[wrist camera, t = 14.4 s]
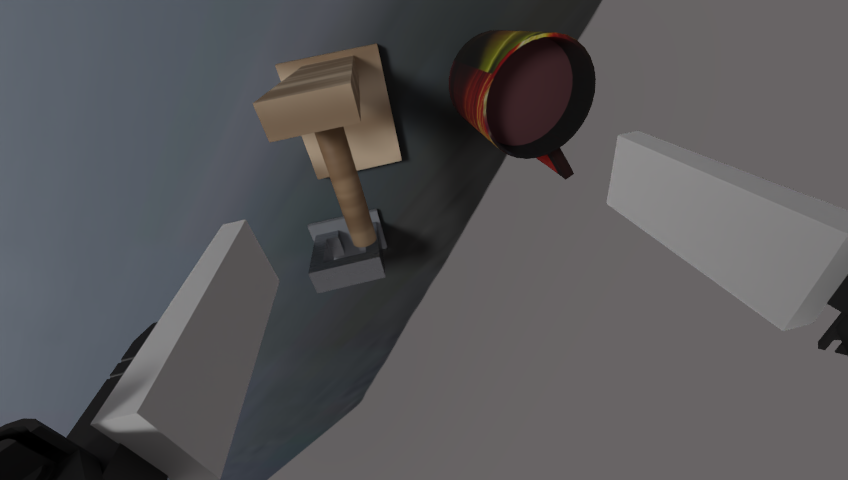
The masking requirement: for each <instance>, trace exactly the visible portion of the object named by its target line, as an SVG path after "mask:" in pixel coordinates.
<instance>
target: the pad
mask: <svg viewBox="0 0 848 480" xmlns="http://www.w3.org/2000/svg"><path fill="white" fill-rule="evenodd" d="M369 214H370V217H371V220H372V222H376V223H377V227H378V230H379V234H380V237H381V241H382V249H385V248H387V244H386V240H385V237H384V233H383V230H382V226H381V223H380V219H379V216H378V212H377V209H373V210H369ZM308 229H309V231H310V234H311V236H312V238H313V240H314V242H315V237H316V235H320V234H324V233H329V232H333V231H337V230H339V233H340V236H341V238H342V241H343V244H344V246H345V255H343V256H338V257H334V260H335V259H340V258H344V257H348V256H352V255H357V254H361V253H365V252H366V250H364V251H360V250H359V247H356V246H354V244H353V241H352V238H351V236H350V233H349V230H348V227H347V224H346V221H345V219H344V216H342V217H338V218H334V219H329V220H325V221H321V222H316V223H312V224H308Z"/></svg>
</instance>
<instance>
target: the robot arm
mask: <svg viewBox="0 0 848 480" xmlns="http://www.w3.org/2000/svg"><path fill="white" fill-rule="evenodd" d="M607 204H608V205H609V206H610V207H612V208H613V209H615V210H616V211H617V212H619V213H620V214H622V215H623V216H624V217H626V218H627V219H628V220H630V221H631V222H633V223H634V224H636V225H637V226H638V227H640V228H641V229H643V230H644V231H645V232H646V233H648V234H649V235H651V236H652V237H653V238H655V239H656V240H658V241H659V242H660V243H662V244H663V245H665V246H666V247H667V248H669V249H670V250H671V251H673V252H674V253H676V254H677V255H678V256H680V257H681V258H683V259H684V260H685V261H687V262H688V263H689V264H691V265H692V266H694V267H695V268H696V269H698V270H699V271H701V272H702V273H703V274H705V275H706V276H707V277H709V278H710V279H712V280H713V281H715V282H716V283H717V284H718V285H720V286H721V287H723V288H724V289H726V290H727V291H728V292H730V293H731V294H733V295H734V296H735V297H737V298H738V299H739V300H741V301H742V302H744V303H745V304H746V305H748V306H749V307H750V308H752V309H753V310H754V311H756V312H757V313H759V314H760V315H761V316H763V317H764V318H766V319H767V320H768V321H770V322H771V323H773V324H774V325H775V326H777V327H778V328H779V329H781V330H782V331H786V330H789V329H793V328H797V327H800V326H805V325H808V324H812V323H814V321H815V320H816V319H817V317H818V316H819V315H820V313H821V312H822V311H823V309H824V308H825V307H826V305H827V304H829V305H831V306H832V307H834V308H835V309H837V310H839V311H840V312H841V314H840V315H839V316H838V317H837V319H836V320H835V321H834V323H833V324H832V325H831V326H830V327H829V329H828V330H827V331H826V333H825V334H824V335H823V336H822V338H821V339H820V340H819V341H818V349H823V350H825V349H826V348H827V347H828V346H829V345H830V343H831V342H832V341H833V340H841V341H842V343H841V344H840V345H839V346H838V348H837V349H836V350H835V352H836V353H840V354H844V355H848V211H847V210H845V209H842V208H839V207H837V206H835V205H832V204H829V203H827V202H824V201H822V200H819V199H816V198H814V197H811V196H808V195H806V194H803V193H800V192H798V191H795V190H792V189H790V188H787V187H785V186H782V185H780V184H777V183H774V182H772V181H769V180H766V179H764V178H761V177H758V176H756V175H753V174H751V173H748V172H745V171H743V170H740V169H737V168H735V167H732V166H730V165H727V164H725V163H722V162H719V161H717V160H714V159H711V158H709V157H706V156H704V155H701V154H698V153H696V152H693V151H690V150H688V149H685V148H682V147H680V146H677V145H674V144H672V143H669V142H667V141H664V140H661V139H659V138H656V137H654V136H651V135H648V134H646V133H643V132H641V131H635V132H630V133H626V134H621V135H618V138H617V144H616V150H615V156H614V162H613V168H612V174H611V180H610V186H609V191H608V198H607ZM278 284H279V279H278V277H277V275H276V274H275V272H274V270H273V268H272V266H271V265H270V263H269V261H268V259H267V257H266V256H265V254H264V252H263V250H262V248H261V246H260V245H259V243H258V241H257V239H256V237H255V236H254V234H253V232H252V230H251V228H250V226H249V225H248V223H247V221H246V220H241V221H237V222H233V223H228V224H224V225H222V226H221V228H220V229H219V231H218V232H217V234H216V236H215V237H214V239H213V240H212V242H211V243H210V245H209V246H208V248H207V249H206V251H205V252H204V254H203V255H202V257H201V258H200V260H199V261H198V263H197V264H196V266H195V267H194V269H193V270H192V272H191V273H190V275H189V276H188V278H187V279H186V281H185V282H184V284H183V285H182V287H181V288H180V290H179V291H178V293H177V294H176V296H175V297H174V299H173V300H172V302H171V303H170V305H169V306H168V308H167V309H166V311H165V312H164V314H163V315H162V317H161V318H160V320H159V321H158V322H156V323H153V324H152V325H151V326H150V327H148V328H147V329H146V330H145V331H144V332H143V333H142V334H141V335H140V336H139V337H138V338H137V339H136V340H134V342H133V343H132V344H131V346H130V347H129V349H128V350H127V352H126V353H125V354H124V356H123V357H122V359H121V360H122V362H121V363H118V364H117V366H116V367H115V369H114V370H113V372H112V373H111V374H110V377H111V378H110V379H107V380H106V382H105V383H104V384H103V386H102V387H101V389H100V390H99V392H98V393H97V394H96V396H95V397H94V399H93V400H92V402H91V403H90V404H89V406H88V407H87V409H86V410H85V412H84V413H83V414H82V416H81V417H80V419H79V420H78V422H77V423H76V424H75V426H74V427H73V429H72V430H71V432H70V433H69V434H68V436H67V437H66V438H65V437H64V436H62V435H61V434H59V433H57V432H56V431H54V430H52V429H51V428H49V427H48V426H46V425H44V424H43V423H41V422H39V421H38V420H36V419H21V420H17V421H14V422H11V423H8V424H5V425H4V426H2V427H0V480H167V478H169V479H171V480H219V479H220V478H221V475H222V472H223V468H224V465H225V462H226V458H227V455H228V452H229V448H230V445H231V442H232V438H233V435H234V432H235V428H236V425H237V421H238V418H239V415H240V411H241V408H242V405H243V401H244V398H245V395H246V391H247V388H248V385H249V381H250V378H251V375H252V371H253V368H254V365H255V361H256V358H257V355H258V351H259V348H260V344H261V341H262V338H263V334H264V331H265V328H266V324H267V321H268V318H269V314H270V311H271V308H272V304H273V301H274V298H275V294H276V291H277V288H278Z"/></svg>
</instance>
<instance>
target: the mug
mask: <svg viewBox="0 0 848 480" xmlns="http://www.w3.org/2000/svg"><path fill="white" fill-rule="evenodd" d="M595 80H596V79H595V71H594V66H593V63H592V60H591V57H590V55H589V54H588V52H587V51H586V49H585V47H583V46H582V45H581V44H580V43H579V42H578V41H577V40H576V39H574V38H572V37H570V36H568V35H565V34H560V33H554V32H528V31H503V30H495V31H487V32H484V33H481V34H479V35H477V36H475V37H473V38H472V39H471V40H470V41H468V42H467V43H466V44H465V45H464V46H463V47H462V49H461V50H460V51H459V53H458V54H457V56H456V58H455V60H454V62H453V65H452V67H451V71H450V76H449V92H450V97H451V100H452V103H453V105H454V107H455V108H456V110H457V112H458V113H459V114H460V115H461V116H462V117H463V118H464V119H465V120H467V121H468V122H469V123H470V124H471V125H472V126H473V127H475V128H476V129H477V130H478V131H479V132H480V133H481V134H483V135H484V136H485V137H486V138H487V139H488V140H489V141H491V142H492V143H493V144H494V145H495V146H496V147H498V148H499V149H500V150H501V151H503V152H505V153H506V154H508V155H510V156H514V157H516V158H525V159H529V158H537V159H538V160H540V161H541V162H542V163H544V164H546V165H547V166H548V167H550V168H551V169H552V170H554V171H555V172H556V173H558V174H559V175H560V176H562V177H563V178H564V179H567V178H568V177H570V176H571V175H573V174H574V173H573V171H572V169H571V167H570V165H569V163H568V161H567V160H566V158H565V156H564V154H563V152H562V151H561V149H560V147H561V146H562V145H564V144H565V143H566V142H567V141H568V140H569V139H571V138H572V137H573V136H574V134H575V133H576V132H577V131H578V129H579V128H580V127H581V125H582V124H583V122H584V120H585V118H586V117H587V115H588V112H589V110H590V107H591V105H592V101H593V97H594V93H595Z"/></svg>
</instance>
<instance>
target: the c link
mask: <svg viewBox="0 0 848 480" xmlns="http://www.w3.org/2000/svg"><path fill="white" fill-rule="evenodd" d="M372 224H373V227H374V230H375V234H376V237H377V239H376V241H375V242H374V243H373V244H371V245H369V246H367V247H359V250H360V251H364V250H366V252H365V253H361V254H357V255H352V256H348V257H344V258H340V259H335V260H334V257H338V256H343V255H345V246H344V244H343V241H342V238H341V236H340V233H339V230H337V231H333V232H329V233H324V234H320V235H316V237H315V242H314V247H313V252H312V258H311V263H310V268H309V273H308V274H309V276H310V278H311V280H312V282H313V284H314V287H315V289H316V291H317V293H321V292H326V291H330V290H334V289H338V288H342V287H346V286H350V285H355V284H359V283H363V282H367V281H371V280H375V279H380V278H384V277H386V276H385V267H384V258H383V250H382V241H381V237H380V234H379V230H378V227H377V223H376V222H372Z"/></svg>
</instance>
